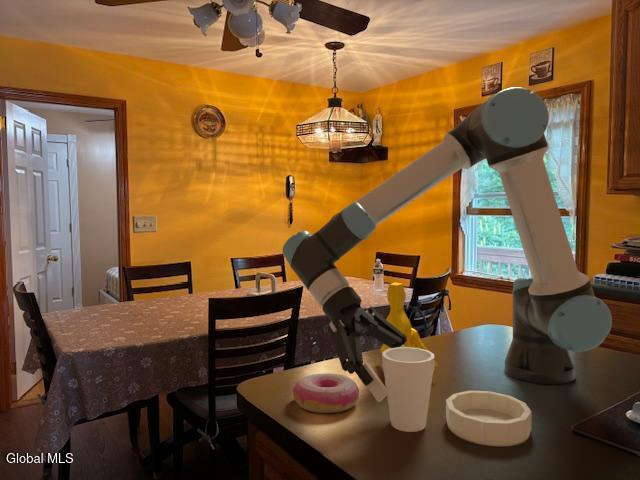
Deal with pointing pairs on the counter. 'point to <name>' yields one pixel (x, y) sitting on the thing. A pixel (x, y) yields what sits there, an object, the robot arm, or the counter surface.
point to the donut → (326, 393)
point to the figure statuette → (401, 318)
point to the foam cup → (408, 386)
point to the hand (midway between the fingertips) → (403, 386)
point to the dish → (488, 418)
